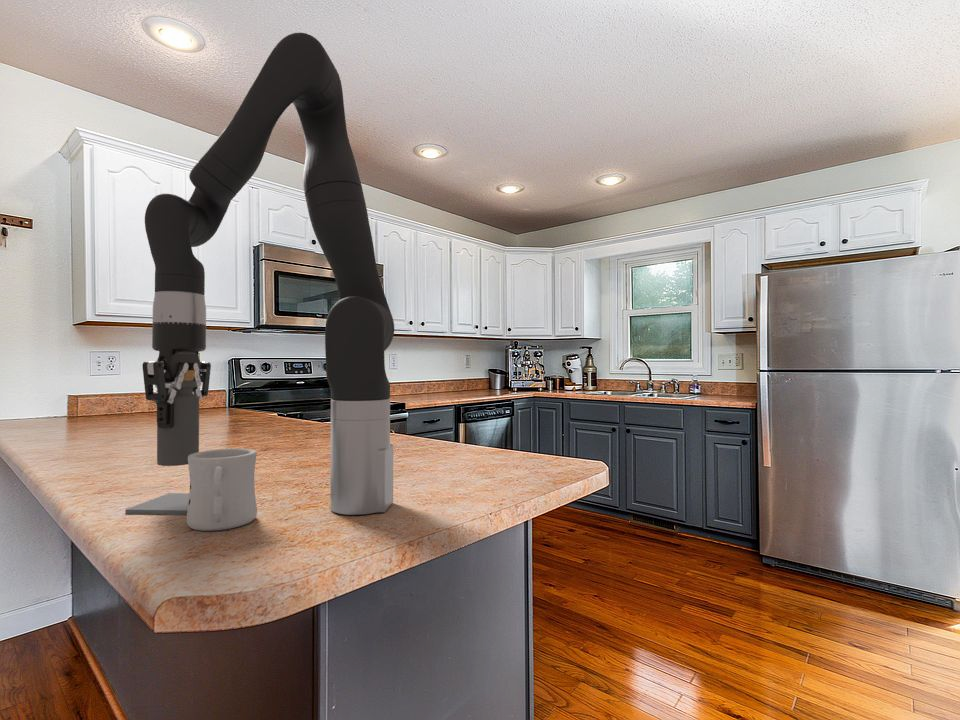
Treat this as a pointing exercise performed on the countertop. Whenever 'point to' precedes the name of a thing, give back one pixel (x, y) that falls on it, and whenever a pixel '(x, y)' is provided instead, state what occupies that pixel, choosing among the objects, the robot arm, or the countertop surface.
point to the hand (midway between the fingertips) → (178, 425)
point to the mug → (221, 489)
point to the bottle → (180, 426)
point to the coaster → (163, 505)
